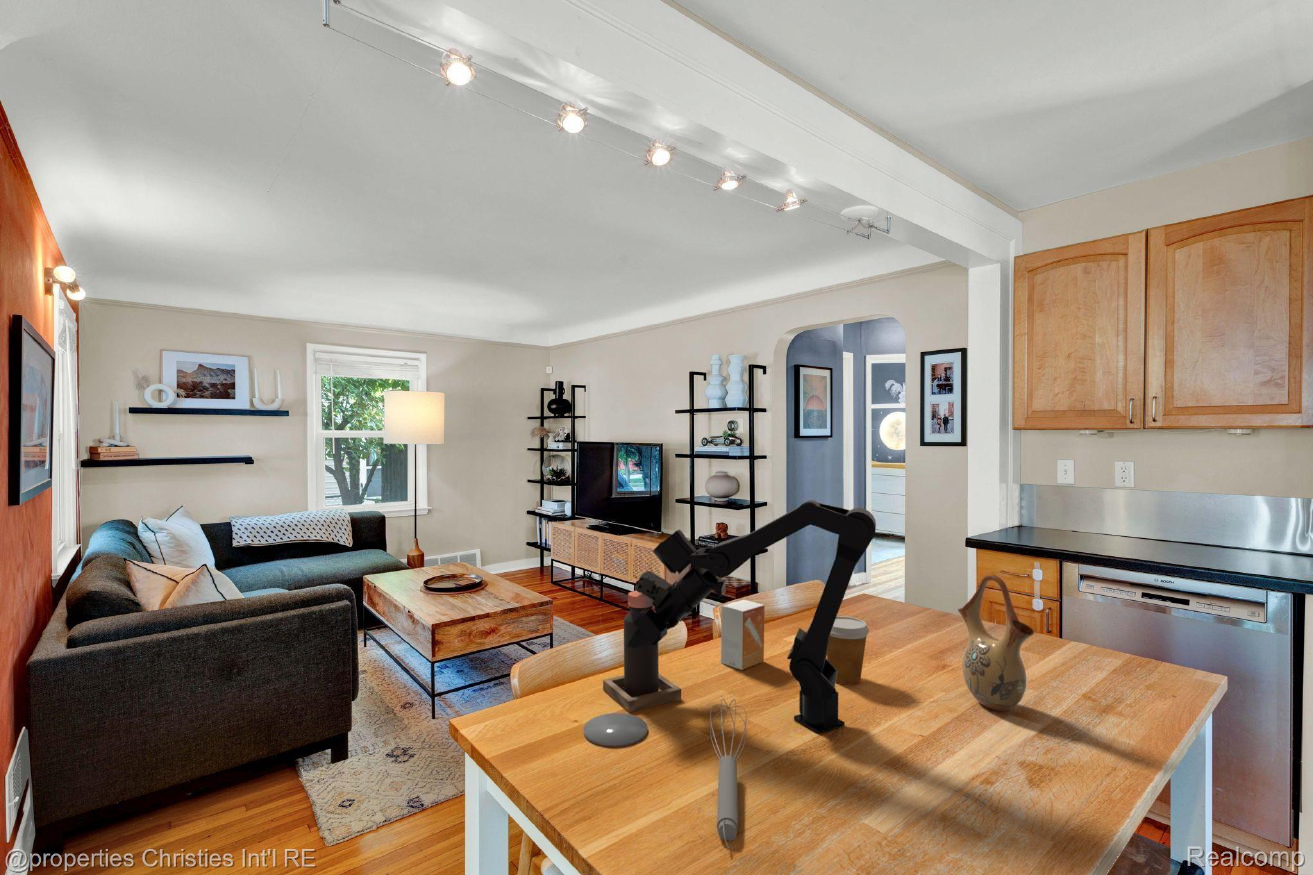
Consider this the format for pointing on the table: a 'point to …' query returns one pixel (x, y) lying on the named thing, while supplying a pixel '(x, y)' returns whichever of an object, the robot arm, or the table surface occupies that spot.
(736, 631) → the small box
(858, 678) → the disposable coffee cup
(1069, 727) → the table surface
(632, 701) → the bottle caddy
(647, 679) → the vinegar
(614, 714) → the slate coaster
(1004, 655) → the ceramic vessel
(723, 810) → the kitchen whisk
